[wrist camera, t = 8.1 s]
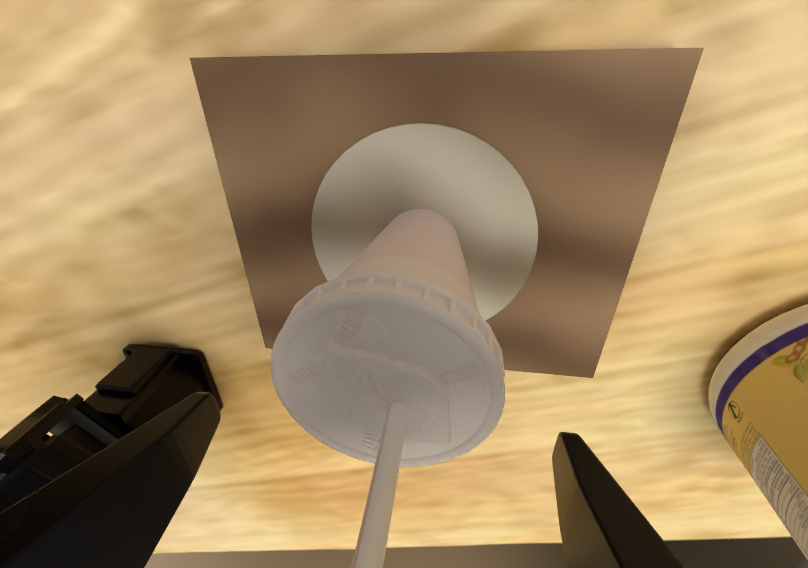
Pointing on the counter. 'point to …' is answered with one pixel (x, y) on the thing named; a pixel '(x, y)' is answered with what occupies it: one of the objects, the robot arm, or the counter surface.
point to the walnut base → (452, 175)
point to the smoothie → (393, 362)
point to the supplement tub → (770, 413)
